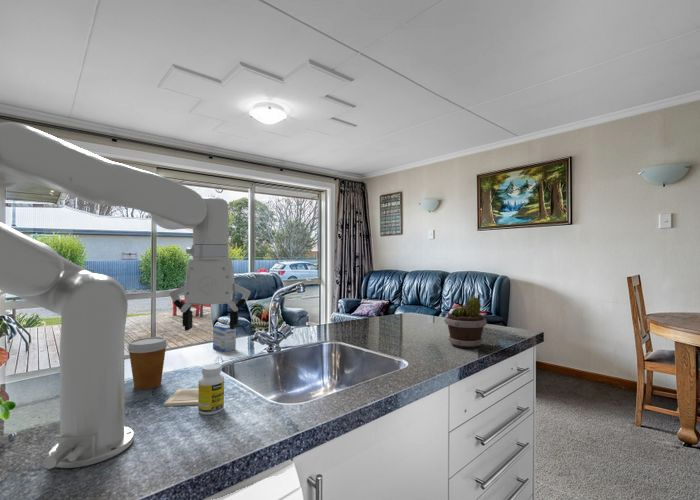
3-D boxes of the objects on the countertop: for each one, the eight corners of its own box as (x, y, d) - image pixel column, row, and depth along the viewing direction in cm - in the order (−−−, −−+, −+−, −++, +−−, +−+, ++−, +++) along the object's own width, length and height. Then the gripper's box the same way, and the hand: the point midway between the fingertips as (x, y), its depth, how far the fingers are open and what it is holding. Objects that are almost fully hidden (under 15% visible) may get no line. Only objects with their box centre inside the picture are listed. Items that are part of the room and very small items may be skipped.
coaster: (204, 404, 84) (204, 401, 84) (163, 406, 83) (163, 403, 83) (214, 389, 93) (214, 387, 93) (177, 391, 92) (177, 388, 92)
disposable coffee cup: (150, 393, 91) (150, 345, 91) (118, 390, 93) (118, 344, 93) (175, 380, 100) (175, 337, 100) (145, 378, 102) (145, 335, 102)
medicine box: (212, 349, 133) (212, 325, 133) (222, 346, 137) (222, 323, 137) (225, 352, 129) (225, 328, 129) (236, 349, 132) (236, 325, 132)
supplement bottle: (212, 417, 78) (212, 371, 78) (192, 413, 80) (192, 369, 80) (229, 407, 83) (229, 364, 83) (210, 403, 85) (210, 361, 85)
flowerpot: (437, 345, 136) (436, 292, 136) (458, 339, 146) (458, 289, 146) (473, 353, 125) (472, 295, 125) (493, 345, 136) (493, 292, 136)
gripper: (164, 253, 77) (163, 333, 77) (247, 252, 79) (247, 331, 79) (176, 253, 84) (176, 326, 84) (252, 253, 86) (252, 324, 86)
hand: (210, 328), depth 81 cm, fingers open, 9 cm apart
